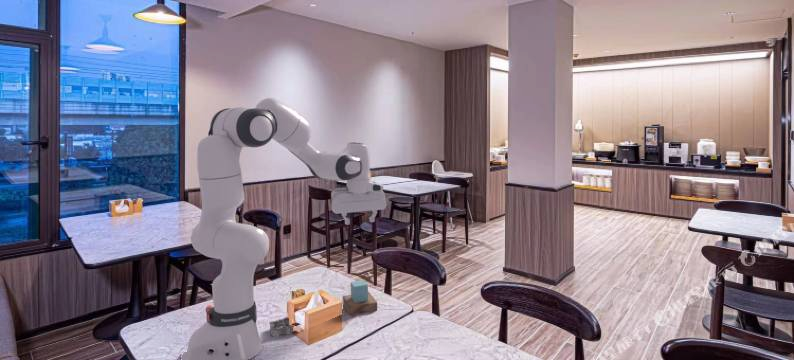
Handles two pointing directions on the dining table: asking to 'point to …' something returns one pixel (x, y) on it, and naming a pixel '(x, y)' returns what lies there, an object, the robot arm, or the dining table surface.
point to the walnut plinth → (359, 305)
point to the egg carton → (280, 327)
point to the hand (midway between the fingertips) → (359, 223)
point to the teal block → (359, 291)
